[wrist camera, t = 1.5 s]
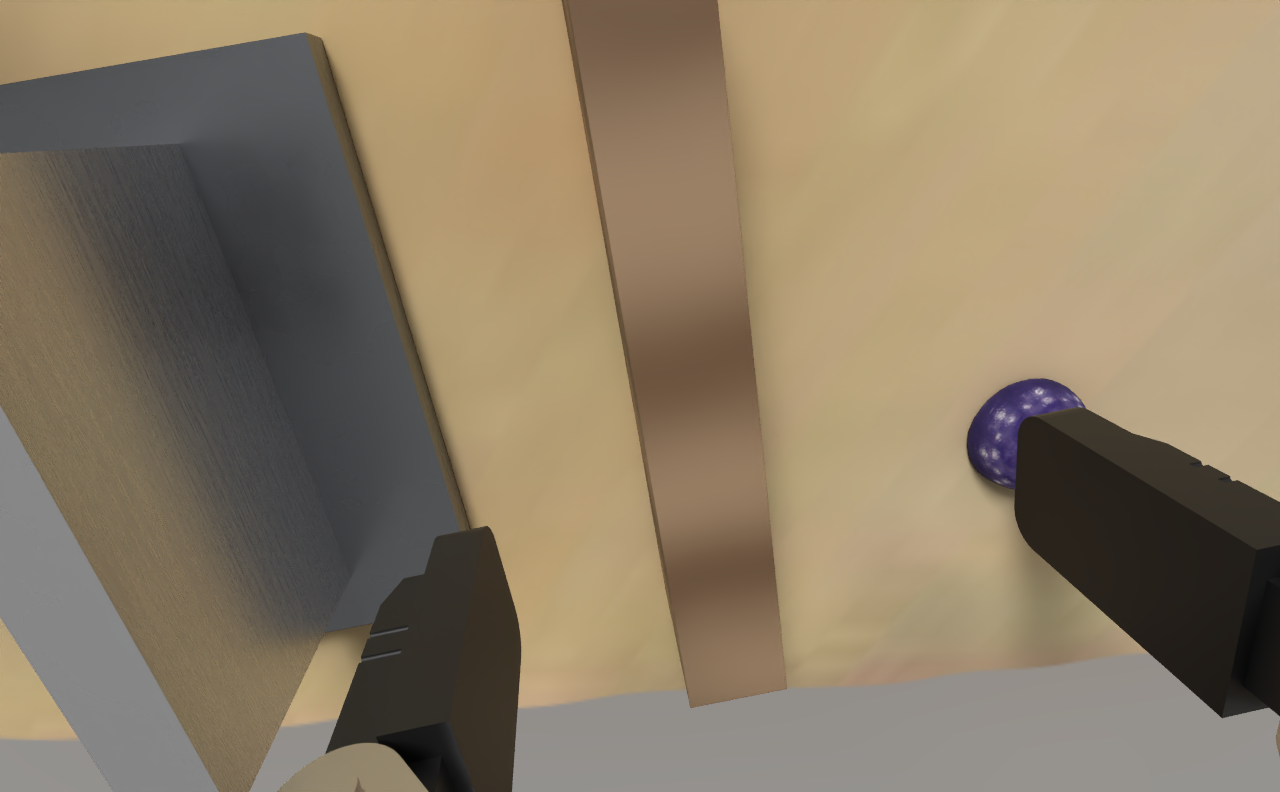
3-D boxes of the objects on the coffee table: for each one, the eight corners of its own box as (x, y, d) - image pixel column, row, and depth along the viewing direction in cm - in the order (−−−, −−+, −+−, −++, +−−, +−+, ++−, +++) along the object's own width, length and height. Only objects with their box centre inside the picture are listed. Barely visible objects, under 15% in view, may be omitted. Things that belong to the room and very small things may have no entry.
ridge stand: (321, 37, 19) (75, -46, 9) (486, 580, 25) (439, 843, 16) (-56, 103, 18) (-696, 83, 9) (213, 634, 25) (7, 933, 16)
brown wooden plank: (546, -88, 18) (536, -180, 13) (657, -106, 18) (696, -205, 13) (664, 585, 27) (690, 708, 21) (741, 570, 27) (786, 688, 21)
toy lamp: (961, 503, 26) (1527, 1049, 11) (940, 396, 24) (1581, 868, 9) (1083, 459, 26) (1838, 952, 11) (1071, 349, 24) (1955, 748, 9)
